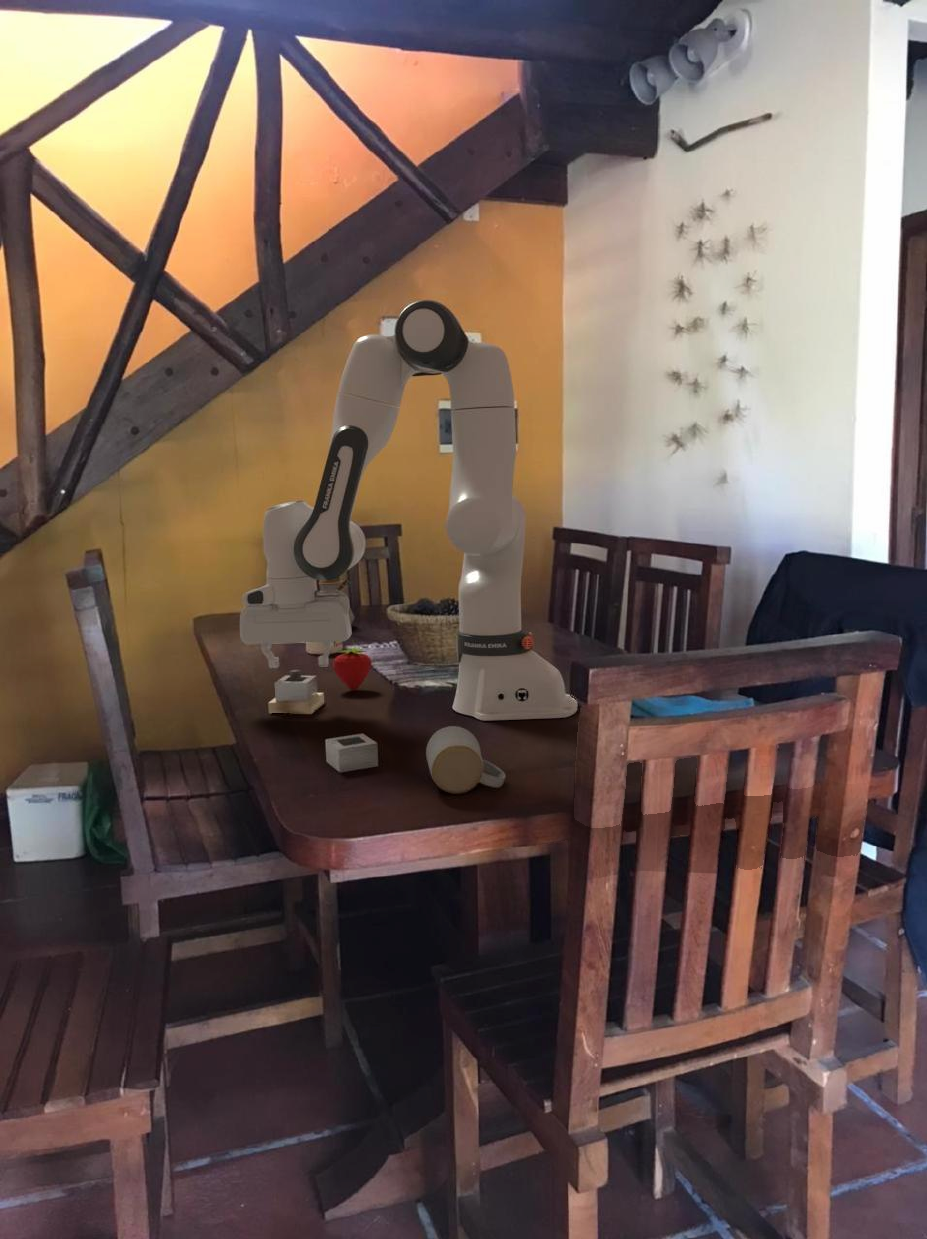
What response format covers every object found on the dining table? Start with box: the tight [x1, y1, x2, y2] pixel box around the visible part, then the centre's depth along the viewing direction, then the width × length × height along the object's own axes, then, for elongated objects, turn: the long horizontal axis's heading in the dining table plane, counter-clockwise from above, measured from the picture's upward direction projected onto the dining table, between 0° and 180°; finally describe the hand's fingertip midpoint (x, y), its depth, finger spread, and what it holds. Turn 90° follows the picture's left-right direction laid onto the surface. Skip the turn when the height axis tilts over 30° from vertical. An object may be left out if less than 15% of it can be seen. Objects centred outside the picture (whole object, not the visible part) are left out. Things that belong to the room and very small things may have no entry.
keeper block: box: [267, 669, 325, 715], centre depth 178 cm, size 8×8×7 cm
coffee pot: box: [318, 579, 355, 624], centre depth 259 cm, size 21×12×15 cm, turn 22°
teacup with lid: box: [305, 642, 343, 655], centre depth 233 cm, size 12×9×12 cm
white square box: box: [324, 733, 379, 774], centre depth 144 cm, size 6×6×4 cm
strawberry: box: [332, 639, 372, 692], centre depth 191 cm, size 6×8×10 cm
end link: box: [274, 675, 318, 702], centre depth 178 cm, size 6×6×4 cm
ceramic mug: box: [425, 725, 506, 795], centre depth 133 cm, size 11×8×8 cm
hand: (298, 666), depth 177 cm, fingers open, 8 cm apart
